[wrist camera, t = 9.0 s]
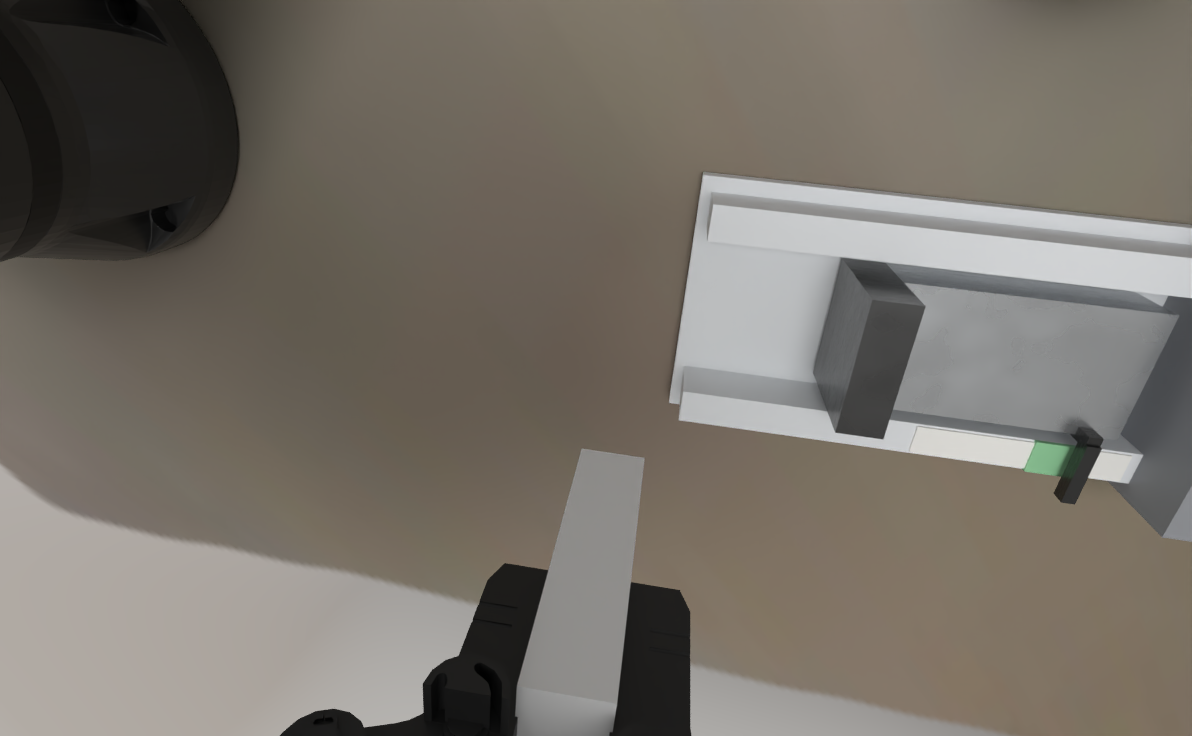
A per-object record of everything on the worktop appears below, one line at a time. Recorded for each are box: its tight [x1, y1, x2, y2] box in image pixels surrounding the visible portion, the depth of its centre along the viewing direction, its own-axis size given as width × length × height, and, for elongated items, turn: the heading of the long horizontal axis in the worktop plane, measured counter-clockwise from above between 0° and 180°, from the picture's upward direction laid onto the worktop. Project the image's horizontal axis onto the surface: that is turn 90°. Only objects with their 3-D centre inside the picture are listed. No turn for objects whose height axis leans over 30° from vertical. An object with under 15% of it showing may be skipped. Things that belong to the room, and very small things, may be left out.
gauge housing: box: [669, 172, 1192, 542], centre depth 30 cm, size 24×12×7 cm, turn 85°
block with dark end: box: [813, 258, 1179, 504], centre depth 30 cm, size 13×9×6 cm
